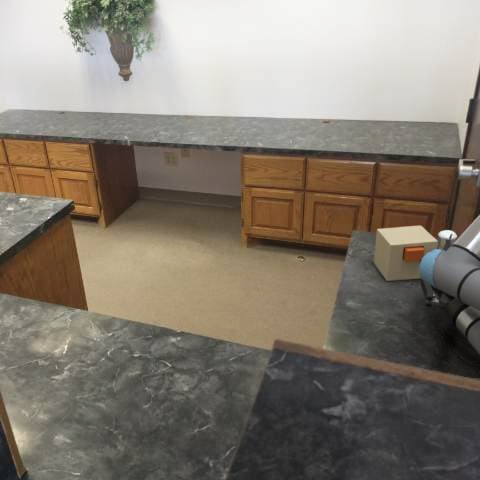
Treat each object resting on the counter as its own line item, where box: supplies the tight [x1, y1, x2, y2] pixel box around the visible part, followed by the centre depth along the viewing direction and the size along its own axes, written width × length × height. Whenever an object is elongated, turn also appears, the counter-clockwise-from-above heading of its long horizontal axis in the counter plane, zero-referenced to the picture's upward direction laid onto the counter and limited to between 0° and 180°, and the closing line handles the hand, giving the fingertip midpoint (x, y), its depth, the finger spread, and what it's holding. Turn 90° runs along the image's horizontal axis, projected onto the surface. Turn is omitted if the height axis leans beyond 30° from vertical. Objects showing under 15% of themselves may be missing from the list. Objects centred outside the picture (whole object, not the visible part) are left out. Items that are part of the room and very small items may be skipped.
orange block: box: [403, 246, 424, 262], centre depth 134 cm, size 4×2×3 cm, turn 89°
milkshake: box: [437, 229, 458, 251], centre depth 142 cm, size 4×5×10 cm
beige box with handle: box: [373, 225, 438, 282], centre depth 140 cm, size 12×10×11 cm
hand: (422, 264), depth 129 cm, fingers closed
